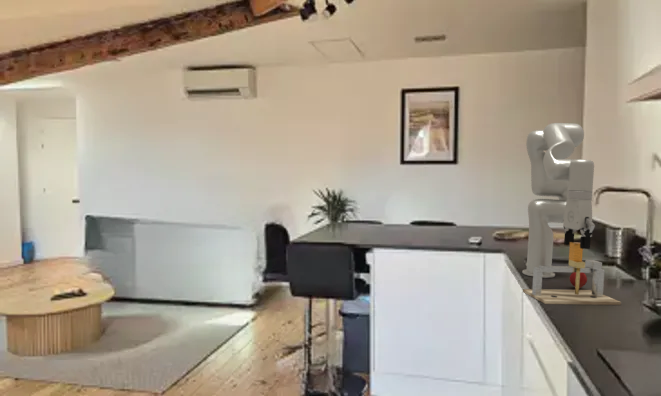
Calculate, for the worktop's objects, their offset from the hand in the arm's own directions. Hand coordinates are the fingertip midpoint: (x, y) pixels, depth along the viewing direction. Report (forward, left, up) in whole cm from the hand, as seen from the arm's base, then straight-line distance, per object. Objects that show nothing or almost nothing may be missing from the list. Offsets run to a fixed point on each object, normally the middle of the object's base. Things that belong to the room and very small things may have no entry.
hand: (576, 246), depth 178 cm
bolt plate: (0, -1, -18) cm, 18 cm away
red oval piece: (-14, +10, -18) cm, 25 cm away
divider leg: (+1, 0, -16) cm, 16 cm away
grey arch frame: (+1, -2, -17) cm, 17 cm away
